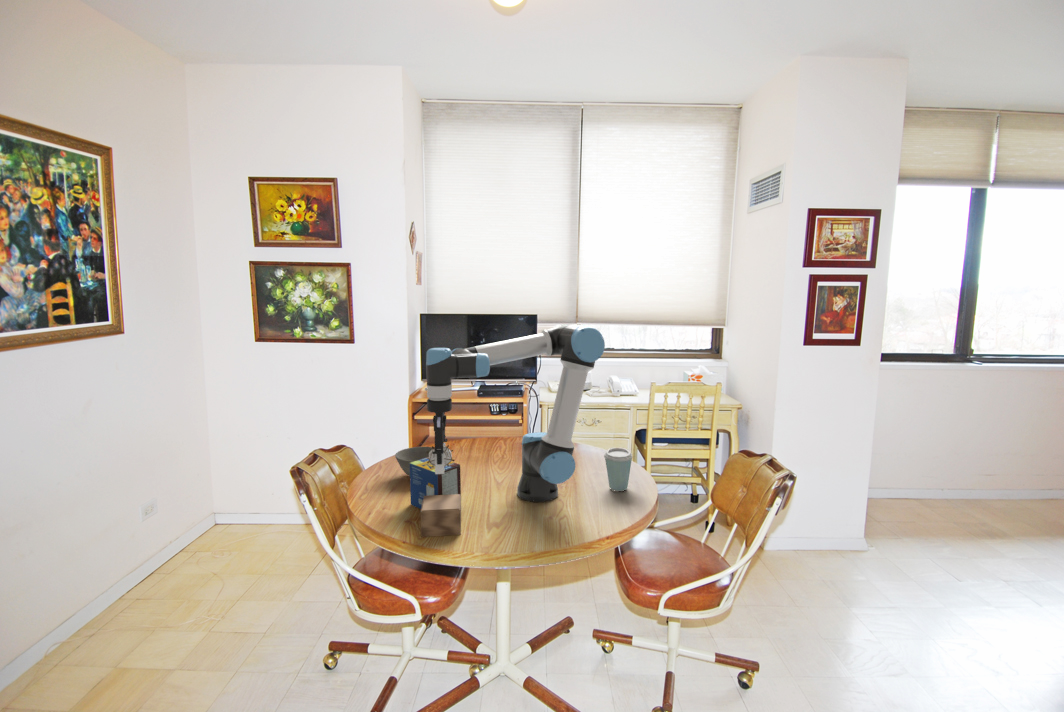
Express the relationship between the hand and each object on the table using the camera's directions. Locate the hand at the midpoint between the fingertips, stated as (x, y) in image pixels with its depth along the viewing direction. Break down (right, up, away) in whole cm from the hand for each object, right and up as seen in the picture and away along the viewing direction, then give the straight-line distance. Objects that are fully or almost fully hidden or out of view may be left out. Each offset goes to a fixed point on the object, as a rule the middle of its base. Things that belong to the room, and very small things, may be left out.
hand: (440, 467), depth 156 cm
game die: (0, 0, 0) cm, 0 cm away
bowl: (-17, -14, +45) cm, 50 cm away
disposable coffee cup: (+61, -16, +33) cm, 72 cm away
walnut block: (0, -19, +2) cm, 19 cm away
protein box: (-5, -18, +18) cm, 26 cm away
